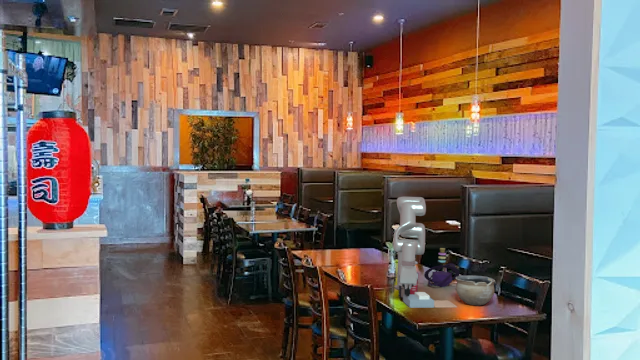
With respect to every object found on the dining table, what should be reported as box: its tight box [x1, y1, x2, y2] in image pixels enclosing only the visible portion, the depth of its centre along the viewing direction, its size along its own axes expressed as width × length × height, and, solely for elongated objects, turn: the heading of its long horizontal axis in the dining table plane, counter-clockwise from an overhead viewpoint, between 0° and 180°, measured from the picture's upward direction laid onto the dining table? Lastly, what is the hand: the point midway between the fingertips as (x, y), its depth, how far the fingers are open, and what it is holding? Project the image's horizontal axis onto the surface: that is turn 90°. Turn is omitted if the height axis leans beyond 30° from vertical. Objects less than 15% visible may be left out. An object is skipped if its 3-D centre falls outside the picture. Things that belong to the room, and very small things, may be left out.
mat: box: [433, 299, 458, 308], centre depth 322 cm, size 14×13×1 cm
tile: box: [414, 291, 431, 299], centre depth 321 cm, size 9×6×2 cm, turn 7°
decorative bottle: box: [423, 247, 460, 288], centre depth 370 cm, size 22×21×25 cm
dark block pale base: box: [398, 271, 419, 299], centre depth 337 cm, size 11×4×15 cm, turn 101°
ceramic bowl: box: [455, 275, 496, 306], centre depth 326 cm, size 22×22×15 cm
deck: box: [402, 294, 435, 309], centre depth 320 cm, size 14×14×4 cm
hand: (407, 295), depth 320 cm, fingers closed
